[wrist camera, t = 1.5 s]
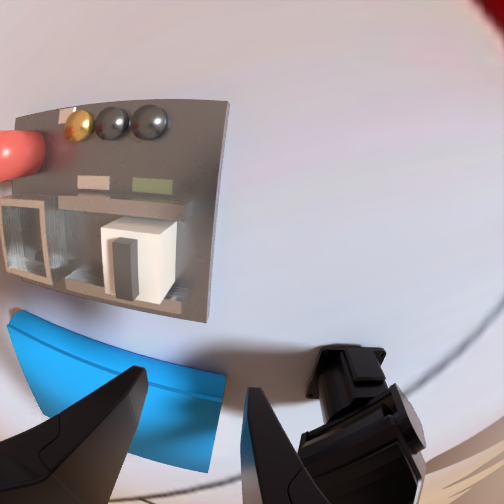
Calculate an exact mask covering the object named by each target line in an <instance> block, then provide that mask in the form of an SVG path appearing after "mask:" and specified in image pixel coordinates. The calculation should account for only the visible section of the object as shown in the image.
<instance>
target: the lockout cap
mask: <svg viewBox="0 0 504 504" xmlns="http://www.w3.org/2000/svg"><path fill="white" fill-rule="evenodd" d="M45 150H46V148H45V141H44V138H43V136H42V134H41V133H40V132H39V131H37V130H10V131H0V182H3V181H7V180H12V179H17V178H21V177H26V176H31V175H34V174H36V173H37V172H38V171H39V170H40V168H41V166H42V164H43V162H44V158H45Z"/></svg>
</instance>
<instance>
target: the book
mask: <svg viewBox="0 0 504 504" xmlns="http://www.w3.org/2000/svg"><path fill="white" fill-rule="evenodd" d="M7 328H8V331H9V334H10V337H11V340H12V343H13V346H14V349H15V352H16V355H17V357H18V360H19V362H20V365H21V368H22V370H23V372H24V375H25V377H26V379H27V382H28V384H29V386H30V388H31V391H32V393H33V395H34V397H35V399H36V401H37V403H38V405H39V407H40V409H41V411H42V413H43V414H44V415H46V416H48V417H50V418H52V417H53V416H55V415H56V414H60V412H61V411H63V410H65V409H66V408H68V407H69V406H71V405H73V404H74V403H76V402H77V401H79V400H80V399H82V398H84V397H85V396H87V395H88V394H90V393H91V392H93V391H95V390H96V389H98V388H99V387H101V386H102V385H104V384H105V383H107V382H108V381H110V380H112V379H113V378H115V377H116V376H118V375H119V374H121V373H122V372H124V371H125V370H127V369H128V368H130V367H131V366H133V365H137V366H141V367H144V368H145V369H146V371H147V378H148V392H147V395H146V399H145V402H144V406H143V410H142V413H141V417H140V421H139V424H138V427H137V430H136V433H135V435H134V437H133V440H132V442H131V445H130V447H129V450H128V453H131V454H134V455H137V456H140V457H143V458H147V459H150V460H153V461H157V462H160V463H164V464H168V465H172V466H176V467H180V468H184V469H189V470H194V471H198V472H204V473H208V470H209V465H210V460H211V455H212V450H213V445H214V440H215V435H216V430H217V425H218V420H219V415H220V410H221V405H222V399H223V394H224V388H225V381H226V375H222V374H217V373H212V372H207V371H202V370H197V369H193V368H188V367H184V366H180V365H176V364H172V363H168V362H164V361H160V360H156V359H153V358H149V357H145V356H142V355H139V354H135V353H132V352H129V351H125V350H122V349H119V348H116V347H113V346H110V345H107V344H104V343H101V342H98V341H95V340H93V339H90V338H87V337H84V336H82V335H79V334H77V333H74V332H71V331H69V330H66V329H64V328H62V327H59V326H57V325H54V324H52V323H50V322H47V321H45V320H43V319H41V318H38V317H36V316H34V315H32V314H30V313H28V312H26V311H18V312H17V313H15V314H14V315H13V317H12V318H11V320H10V322H9V324H8V325H7Z"/></svg>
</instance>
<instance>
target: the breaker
mask: <svg viewBox="0 0 504 504" xmlns="http://www.w3.org/2000/svg"><path fill="white" fill-rule="evenodd" d="M176 236H177V221H173V220H164V219H155V218H146V217H136V216H127V215H125V216H123V217H121V218H119V219H117V220H115V221H113V222H111V223H109V224H107V225H105V226H103V227H101V245H102V262H103V274H104V284H105V293H106V294H111V295H116V298H118V299H122V300H127V301H132V302H133V301H134V300H140V301H145V302H150V303H155V304H160V303H161V302H162V300H163V299H164V297H165V296H166V294H167V293H168V291H169V290H170V288H171V287H172V285H173V284H174V282H175V263H176Z"/></svg>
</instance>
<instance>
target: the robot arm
mask: <svg viewBox="0 0 504 504" xmlns="http://www.w3.org/2000/svg"><path fill="white" fill-rule="evenodd" d="M327 351H328V352H327ZM324 352H327V353H324ZM381 353H382V354H381ZM379 354H380V355H379ZM385 356H386V351H385V350H384V349H383V348H354V347H328V346H327V347H323V348H322V349H321V350H320V353H319V356H318V359H317V362H316V365H315V367H314V370H313V373H312V376H311V379H310V382H309V384H308V387H307V390H306V392H305V394H306V397H307V398H309V399H319V400H320V405H321V410H322V416H323V421H324V425H323V426H320V427H318V428H316V429H314V430H312V431H310V432H308V431H307V432H305V433H303V434H302V435H301V440H300V445H299V449H298V454H297V453H296V451H295V449H294V447H293V446H292V444H291V442H290V440H289V439H288V437H287V435H286V433H285V431H284V430H283V428H282V426H281V424H280V422H279V420H278V419H277V417H276V415H275V413H274V411H273V409H272V407H271V405H270V404H269V402H268V400H267V398H266V396H265V394H264V392H263V390H262V389H261V388H260V387H256V386H248V388H247V393H246V399H245V405H244V414H243V424H242V433H241V444H240V453H241V475H242V495H243V504H418V503H419V499H420V495H421V491H422V487H423V482H424V478H425V473H426V463H425V461H424V459H423V456H422V454H421V452H420V451H421V450H423V449H425V448H426V442H425V438H424V433H423V428H422V424H421V422H420V420H419V418H418V416H417V414H416V412H415V410H414V408H413V406H412V405H411V403H410V402H409V401H408V399H407V398H406V397H405V395H404V394H403V393H402V391H401V390H400V388H399V387H398V386H397V384H396V383H394V384H393V385H391V386H390V388H388V386H387V384H386V382H385V379H386V377H385V375H384V373H383V371H382V369H381V367H380V366H381V364H382V362H383V360H384V358H385ZM147 392H148V378H147V371H146V369H145V368H144V367H141V366H137V365H133V366H131V367H130V368H128V369H127V370H125V371H124V372H122V373H121V374H119V375H118V376H116V377H115V378H113V379H112V380H110V381H108V382H107V383H105V384H104V385H102V386H101V387H99V388H98V389H96V390H95V391H93V392H91V393H90V394H88V395H87V396H85V397H84V398H82V399H80V400H79V401H77V402H76V403H74V404H73V405H71V406H69V407H68V408H66V409H65V410H63V411H61V412H60V414H56V415H55V416H53V417H52V418H50V419H48V420H46V421H45V422H43V423H41V424H39V425H37V426H35V427H33V428H31V429H29V430H27V431H25V432H22V433H20V434H18V435H15V436H13V437H11V438H8V439H6V440H3V441H0V504H108V502H109V499H110V496H111V494H112V491H113V488H114V486H115V483H116V480H117V478H118V475H119V473H120V470H121V467H122V465H123V462H124V460H125V457H126V455H127V452H128V450H129V447H130V445H131V442H132V440H133V437H134V435H135V433H136V430H137V427H138V424H139V421H140V417H141V413H142V410H143V406H144V402H145V399H146V395H147Z"/></svg>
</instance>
